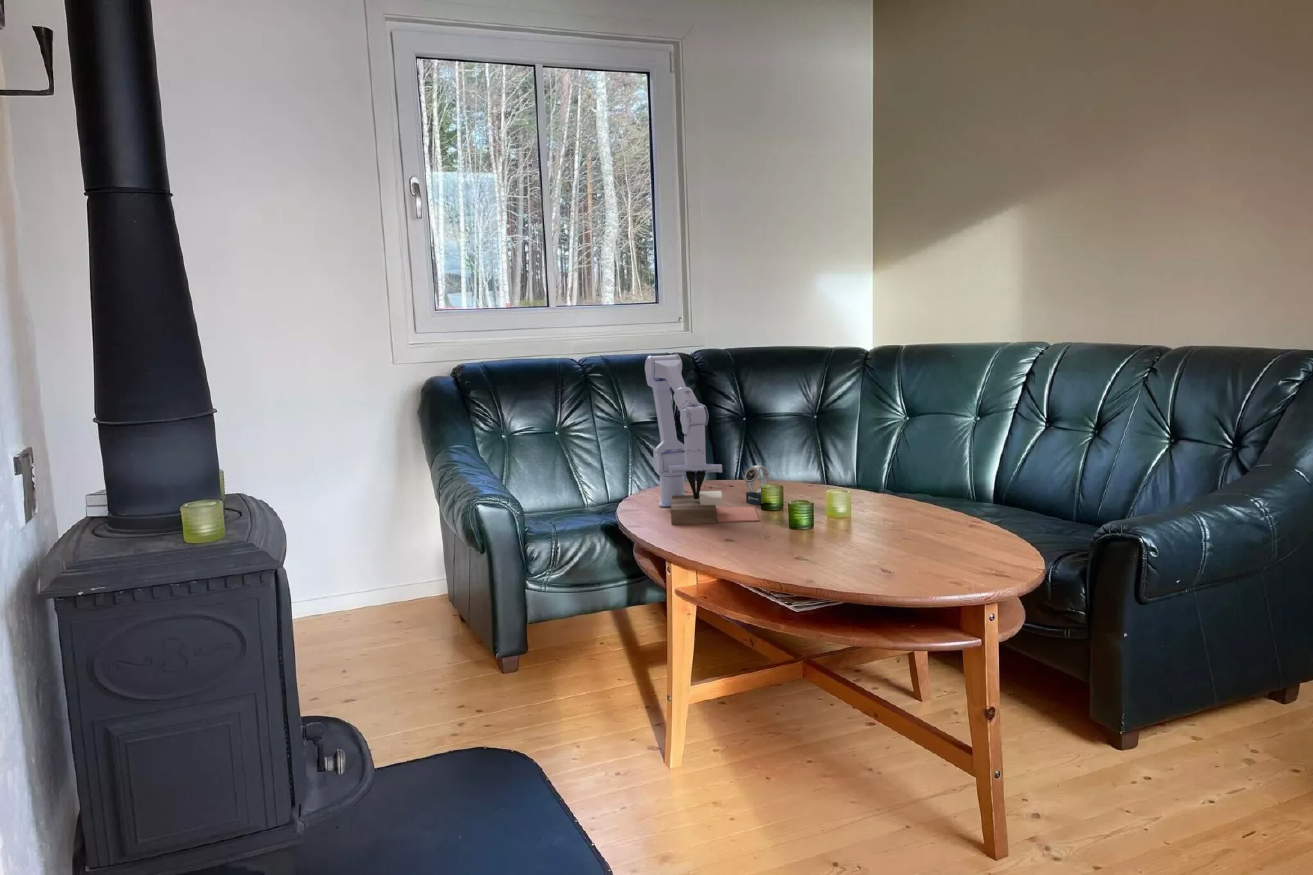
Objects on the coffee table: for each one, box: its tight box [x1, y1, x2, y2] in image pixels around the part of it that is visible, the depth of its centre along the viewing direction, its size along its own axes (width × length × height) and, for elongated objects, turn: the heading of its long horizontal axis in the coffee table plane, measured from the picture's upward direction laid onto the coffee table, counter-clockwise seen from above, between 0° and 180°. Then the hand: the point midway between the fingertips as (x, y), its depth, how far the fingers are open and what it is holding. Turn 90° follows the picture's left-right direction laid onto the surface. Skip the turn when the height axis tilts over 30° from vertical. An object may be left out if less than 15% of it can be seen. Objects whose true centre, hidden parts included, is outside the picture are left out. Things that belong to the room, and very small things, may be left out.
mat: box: [716, 506, 760, 523], centre depth 232 cm, size 16×11×1 cm
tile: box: [699, 490, 723, 506], centre depth 232 cm, size 9×6×2 cm, turn 177°
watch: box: [743, 464, 770, 506], centre depth 246 cm, size 6×8×11 cm
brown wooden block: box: [670, 494, 717, 525], centre depth 233 cm, size 18×12×4 cm, turn 178°
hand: (696, 498), depth 232 cm, fingers closed
